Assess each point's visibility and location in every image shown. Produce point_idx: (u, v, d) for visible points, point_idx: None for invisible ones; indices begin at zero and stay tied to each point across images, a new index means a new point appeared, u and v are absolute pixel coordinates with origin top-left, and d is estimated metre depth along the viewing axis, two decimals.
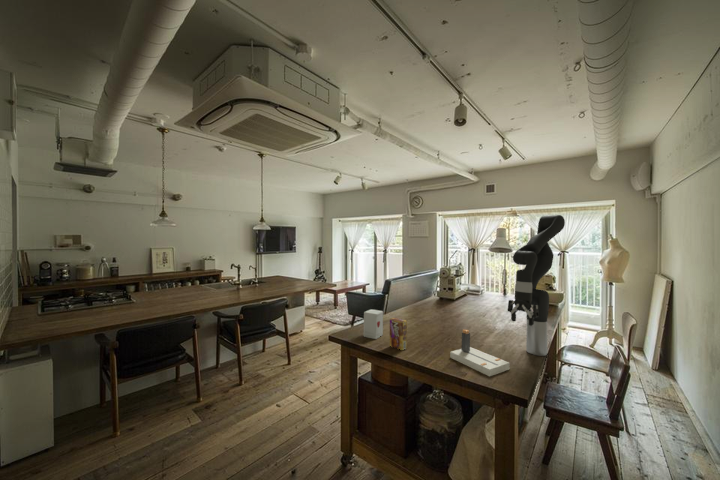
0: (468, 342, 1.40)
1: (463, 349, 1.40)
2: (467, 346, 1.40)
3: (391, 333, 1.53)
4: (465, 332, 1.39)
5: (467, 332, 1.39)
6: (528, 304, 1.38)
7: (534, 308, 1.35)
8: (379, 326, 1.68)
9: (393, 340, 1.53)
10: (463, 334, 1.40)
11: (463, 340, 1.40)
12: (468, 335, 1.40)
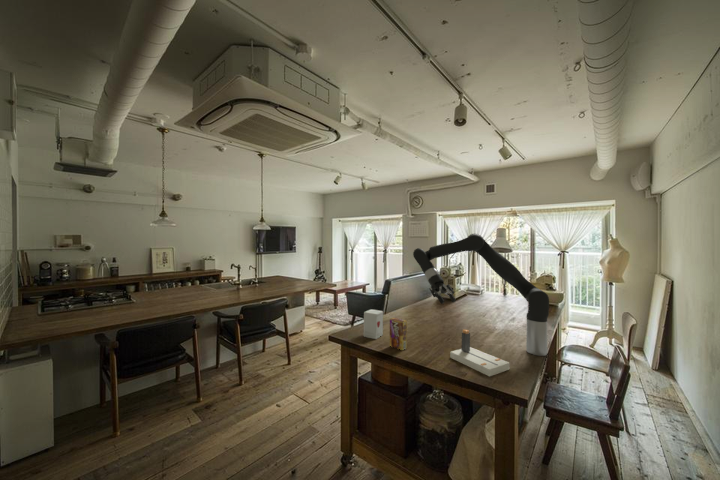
0: (468, 342, 1.40)
1: (463, 349, 1.40)
2: (467, 346, 1.40)
3: (391, 333, 1.53)
4: (465, 332, 1.39)
5: (467, 332, 1.39)
6: None
7: None
8: (379, 326, 1.68)
9: (393, 340, 1.53)
10: (463, 334, 1.40)
11: (463, 340, 1.40)
12: (468, 335, 1.40)
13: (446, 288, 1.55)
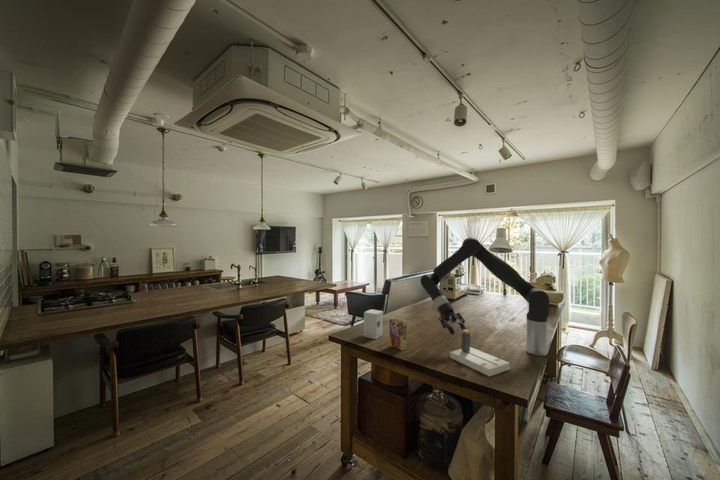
0: (468, 342, 1.40)
1: (463, 349, 1.40)
2: (467, 346, 1.40)
3: (391, 333, 1.53)
4: (465, 332, 1.39)
5: (467, 332, 1.39)
6: None
7: None
8: (379, 326, 1.68)
9: (393, 340, 1.53)
10: (463, 334, 1.40)
11: (463, 340, 1.40)
12: (468, 335, 1.40)
13: (456, 317, 1.49)
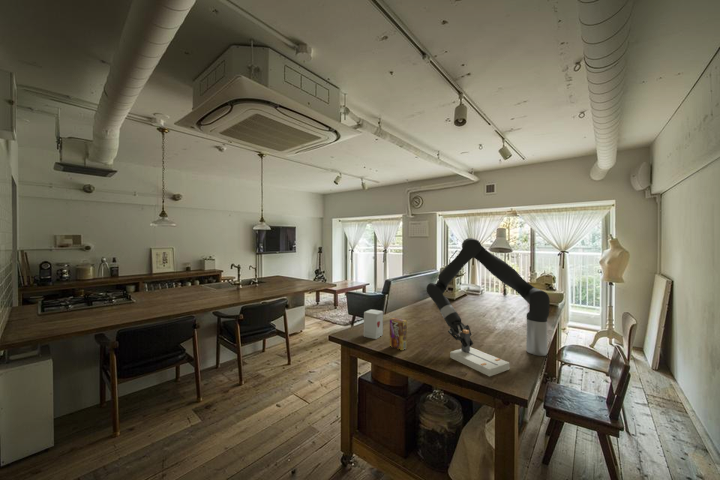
0: (468, 342, 1.40)
1: (463, 349, 1.40)
2: (467, 346, 1.40)
3: (391, 333, 1.53)
4: (465, 332, 1.39)
5: (467, 332, 1.39)
6: None
7: None
8: (379, 326, 1.68)
9: (393, 340, 1.53)
10: (463, 334, 1.40)
11: None
12: (468, 335, 1.40)
13: (464, 328, 1.44)
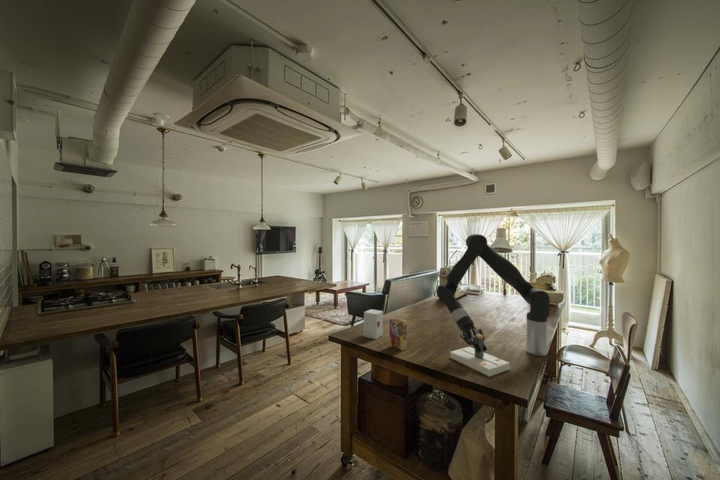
0: (482, 347, 1.33)
1: (476, 355, 1.33)
2: None
3: (391, 333, 1.53)
4: (478, 337, 1.33)
5: (481, 337, 1.32)
6: None
7: None
8: (379, 326, 1.68)
9: (393, 340, 1.53)
10: (476, 339, 1.33)
11: None
12: (482, 340, 1.33)
13: (477, 333, 1.37)
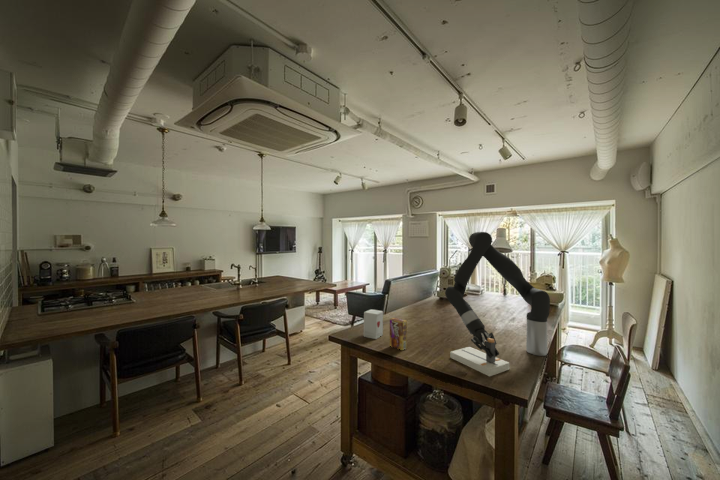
0: (493, 352, 1.28)
1: (488, 360, 1.28)
2: None
3: (391, 333, 1.53)
4: (490, 341, 1.27)
5: (492, 341, 1.27)
6: None
7: None
8: (379, 326, 1.68)
9: (393, 340, 1.53)
10: (488, 343, 1.28)
11: None
12: (493, 344, 1.28)
13: (488, 337, 1.32)
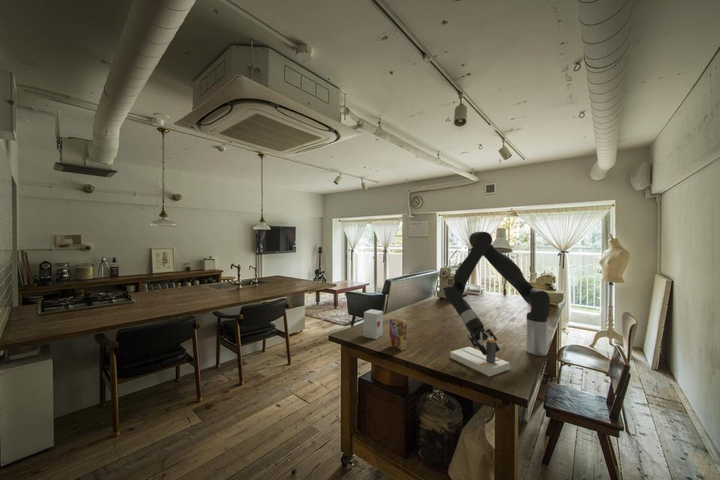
0: (494, 352, 1.28)
1: (488, 360, 1.28)
2: (493, 356, 1.27)
3: (391, 333, 1.53)
4: (490, 341, 1.27)
5: (493, 341, 1.27)
6: None
7: None
8: (379, 326, 1.68)
9: (393, 340, 1.53)
10: (488, 343, 1.28)
11: (488, 350, 1.28)
12: (494, 344, 1.28)
13: (487, 334, 1.33)
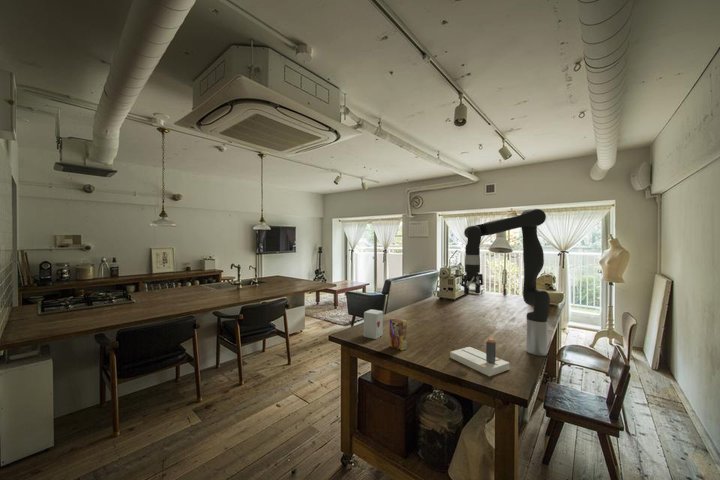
0: (494, 352, 1.28)
1: (488, 360, 1.28)
2: (493, 356, 1.27)
3: (391, 333, 1.53)
4: (490, 341, 1.27)
5: (493, 341, 1.27)
6: None
7: None
8: (379, 326, 1.68)
9: (393, 340, 1.53)
10: (488, 343, 1.28)
11: (488, 350, 1.28)
12: (494, 344, 1.28)
13: (477, 279, 1.49)
